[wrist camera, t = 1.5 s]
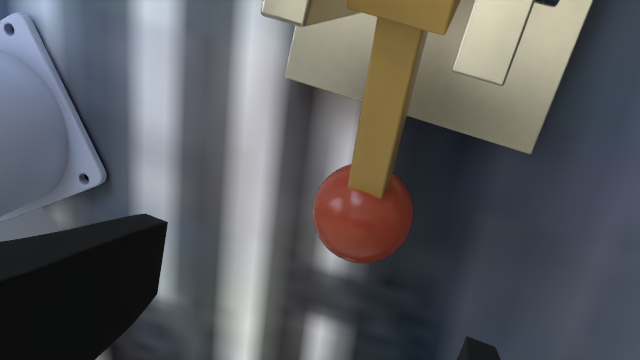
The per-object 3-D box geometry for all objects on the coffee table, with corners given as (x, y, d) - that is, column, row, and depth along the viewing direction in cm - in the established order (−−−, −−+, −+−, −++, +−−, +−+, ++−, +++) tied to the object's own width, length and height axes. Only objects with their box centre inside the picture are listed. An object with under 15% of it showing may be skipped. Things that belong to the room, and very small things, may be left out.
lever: (414, 224, 21) (387, 297, 18) (329, 195, 21) (294, 262, 19) (532, -145, 12) (508, -87, 10) (382, -177, 12) (329, -130, 10)
